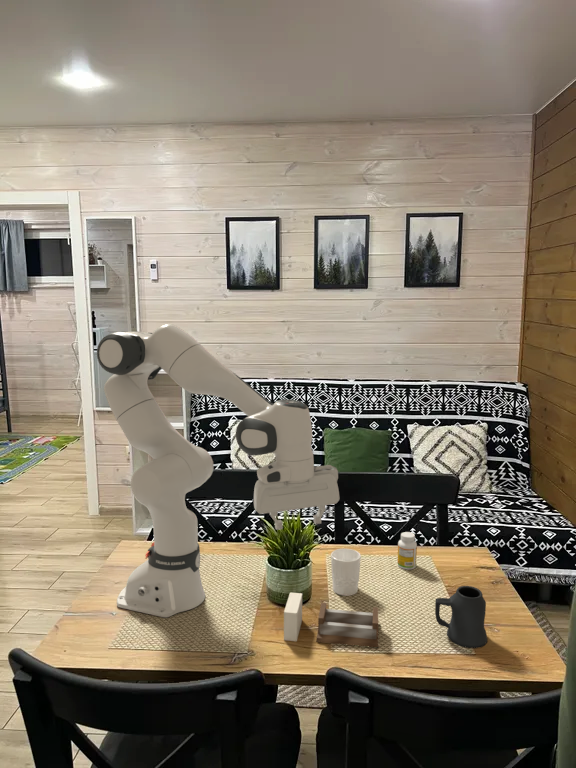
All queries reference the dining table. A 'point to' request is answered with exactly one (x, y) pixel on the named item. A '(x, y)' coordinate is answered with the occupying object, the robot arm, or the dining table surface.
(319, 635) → the brown wooden rack
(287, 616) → the white block with hole
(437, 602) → the mug
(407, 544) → the supplement bottle
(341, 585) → the white cup
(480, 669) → the dining table surface
